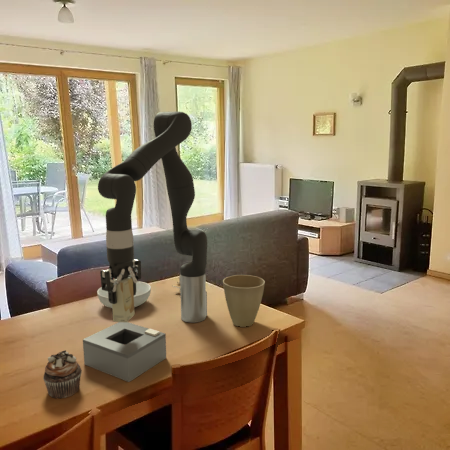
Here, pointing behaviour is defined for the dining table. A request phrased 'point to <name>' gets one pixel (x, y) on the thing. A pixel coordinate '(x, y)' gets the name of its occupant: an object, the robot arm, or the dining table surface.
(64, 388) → the cupcake
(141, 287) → the serving bowl
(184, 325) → the dining table surface
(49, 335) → the dining table surface
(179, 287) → the architectural model
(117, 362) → the grey square box
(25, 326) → the dining table surface
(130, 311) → the skincare box
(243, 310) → the plant pot
